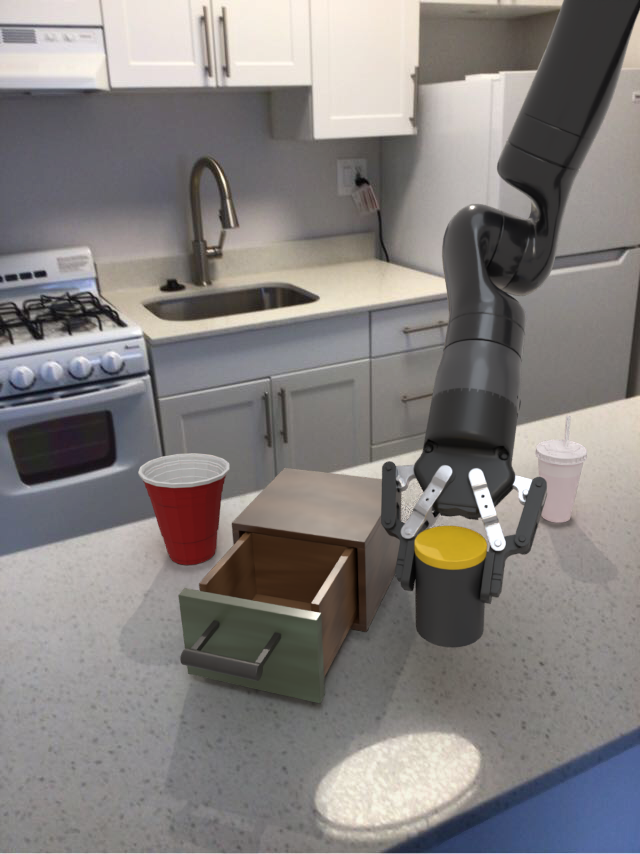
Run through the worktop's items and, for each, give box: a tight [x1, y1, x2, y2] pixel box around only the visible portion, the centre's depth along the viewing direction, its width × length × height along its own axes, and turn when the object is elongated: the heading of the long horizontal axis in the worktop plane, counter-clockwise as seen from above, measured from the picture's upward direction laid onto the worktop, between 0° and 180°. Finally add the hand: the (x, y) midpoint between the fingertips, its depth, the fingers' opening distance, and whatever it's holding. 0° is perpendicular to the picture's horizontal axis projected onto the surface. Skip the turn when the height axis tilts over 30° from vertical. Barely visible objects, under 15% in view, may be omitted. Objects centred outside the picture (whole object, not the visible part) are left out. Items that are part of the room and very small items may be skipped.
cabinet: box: [231, 467, 400, 633], centre depth 85 cm, size 15×15×11 cm
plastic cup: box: [137, 452, 230, 566], centre depth 92 cm, size 11×11×12 cm
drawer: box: [177, 531, 358, 704], centre depth 71 cm, size 19×13×9 cm
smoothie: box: [534, 415, 588, 524], centre depth 97 cm, size 6×6×14 cm
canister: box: [414, 525, 488, 649], centre depth 62 cm, size 6×6×8 cm
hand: (445, 594), depth 60 cm, fingers closed on canister, 5 cm apart
